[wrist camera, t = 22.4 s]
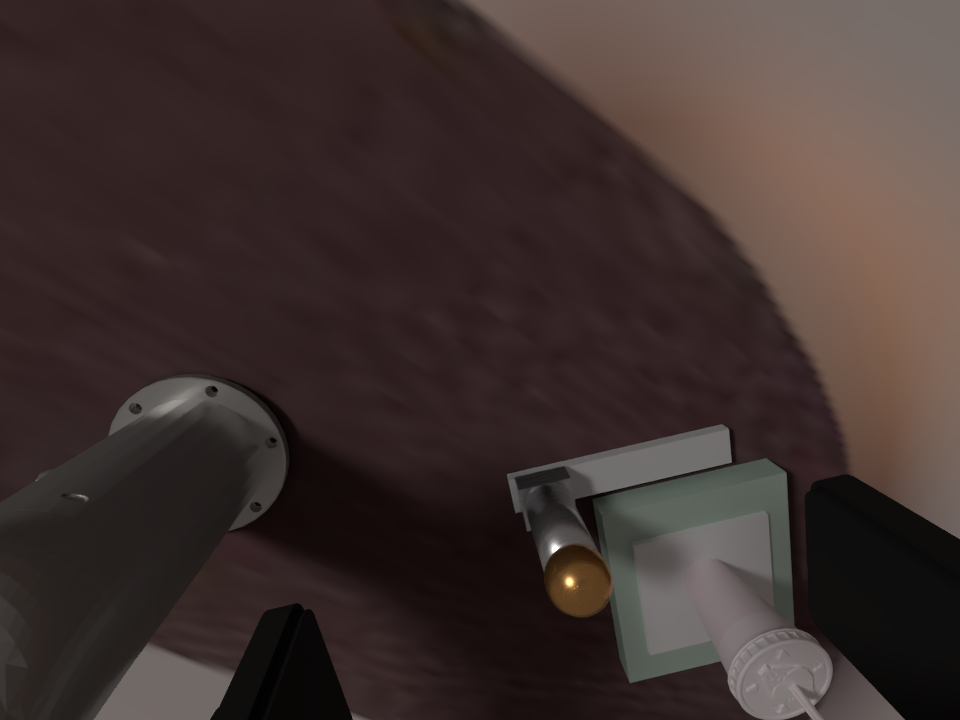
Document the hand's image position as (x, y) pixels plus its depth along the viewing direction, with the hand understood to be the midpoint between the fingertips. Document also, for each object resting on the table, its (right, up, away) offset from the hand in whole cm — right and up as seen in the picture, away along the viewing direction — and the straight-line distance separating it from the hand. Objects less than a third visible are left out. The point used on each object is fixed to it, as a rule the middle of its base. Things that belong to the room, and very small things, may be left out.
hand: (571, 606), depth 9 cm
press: (+13, -12, +33) cm, 38 cm away
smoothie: (+17, -13, +31) cm, 38 cm away
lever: (+3, -6, +30) cm, 31 cm away
